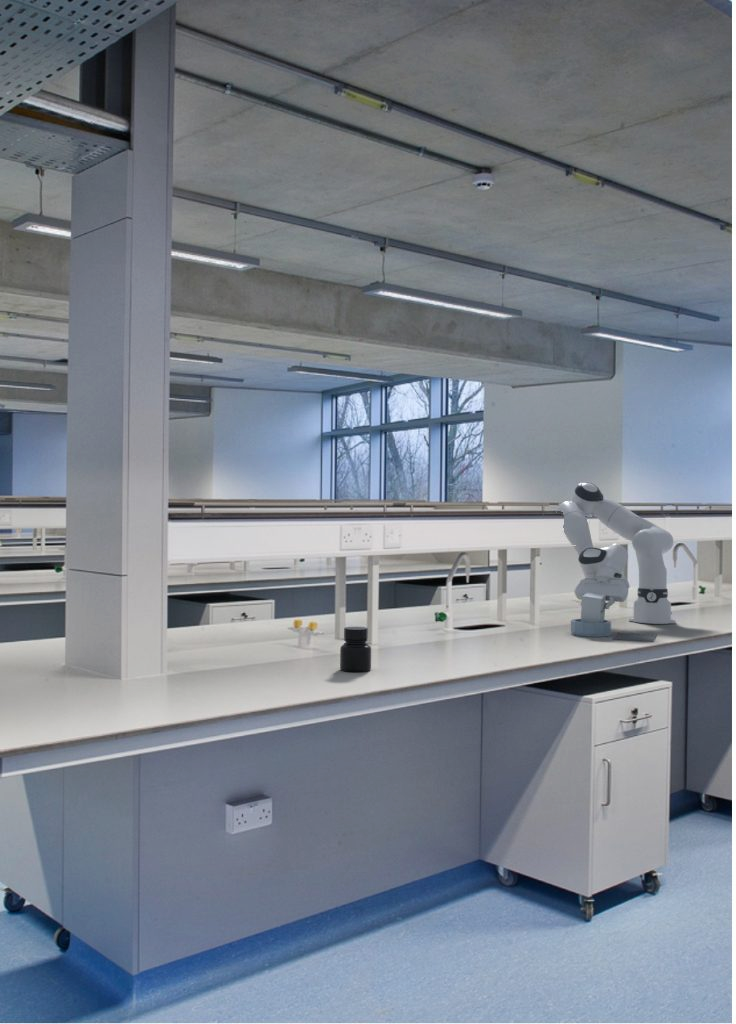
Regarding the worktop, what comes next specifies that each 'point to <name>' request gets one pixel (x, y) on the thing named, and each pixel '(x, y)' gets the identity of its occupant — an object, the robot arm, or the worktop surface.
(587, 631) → the bowl
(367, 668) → the ink bottle
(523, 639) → the worktop surface
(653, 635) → the mat
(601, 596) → the supplement box
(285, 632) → the worktop surface
